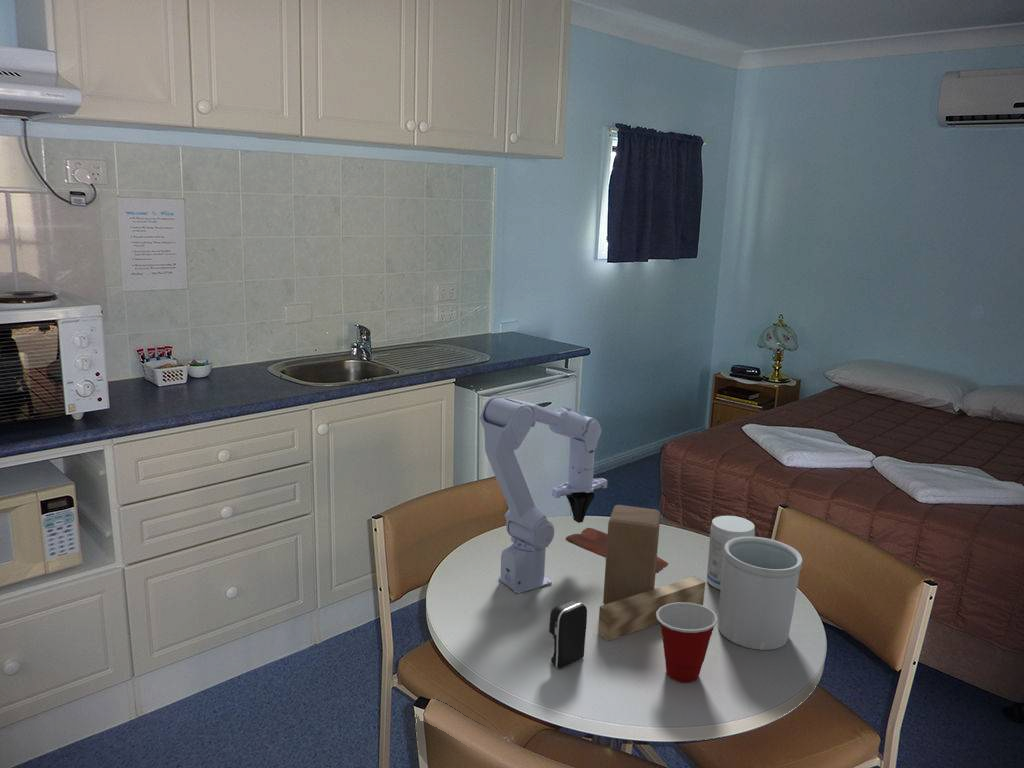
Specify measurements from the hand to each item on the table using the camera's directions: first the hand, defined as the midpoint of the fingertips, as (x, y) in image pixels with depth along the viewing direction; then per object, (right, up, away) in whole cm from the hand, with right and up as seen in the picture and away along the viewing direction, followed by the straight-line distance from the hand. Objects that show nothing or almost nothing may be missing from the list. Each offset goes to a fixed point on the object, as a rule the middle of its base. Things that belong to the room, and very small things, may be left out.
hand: (578, 520), depth 185 cm
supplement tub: (+33, -13, -7) cm, 36 cm away
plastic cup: (+15, -21, -41) cm, 49 cm away
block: (+9, -15, -16) cm, 24 cm away
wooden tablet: (+10, -10, +8) cm, 16 cm away
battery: (-6, -19, -38) cm, 43 cm away
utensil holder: (+33, -18, -26) cm, 46 cm away
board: (+13, -16, -23) cm, 31 cm away
